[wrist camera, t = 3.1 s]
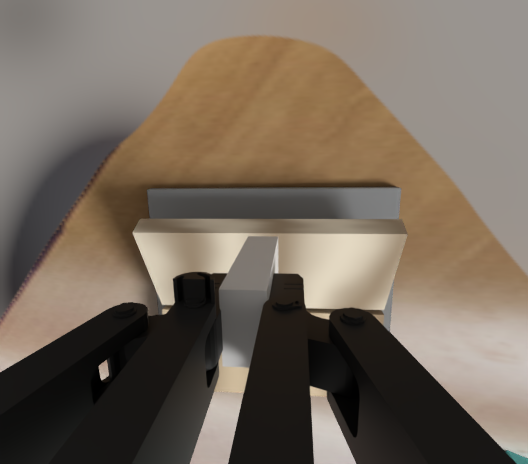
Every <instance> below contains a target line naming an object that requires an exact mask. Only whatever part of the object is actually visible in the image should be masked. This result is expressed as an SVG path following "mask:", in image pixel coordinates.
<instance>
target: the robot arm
mask: <svg viewBox="0 0 528 464" xmlns="http://www.w3.org/2000/svg"><path fill="white" fill-rule="evenodd" d="M173 288H174V300H175V303H174V304H173V306H172V307H171V308H170V309H169V311H168V312H167V313H166V314H162V315H154V316H148V308H147V307H146V306H145V305H143V304H140V303H133V302H128V303H122V304H120V305H117V306H114V307H112V308H110V309H107V310H106V311H104V312H102V313H101V314H99V315H97V316H96V317H94V318H92V319H90V320H89V321H87V322H85V323H84V324H82V325H80V326H78V327H77V328H75V329H73V330H72V331H70V332H68V333H67V334H65V335H63V336H61V337H60V338H58V339H56V340H55V341H53V342H51V343H50V344H48V345H46V346H44V347H43V348H41V349H39V350H38V351H36V352H34V353H33V354H31V355H29V356H27V357H26V358H24V359H22V360H21V361H19V362H17V363H15V364H14V365H12V366H10V367H9V368H7V369H5V370H4V371H2V372H0V464H190V461H191V458H192V455H193V452H194V449H195V446H196V443H197V440H198V437H199V434H200V431H201V428H202V425H203V422H204V419H205V416H206V413H207V410H208V407H209V404H210V401H211V398H212V395H213V393H214V390H215V387H216V384H217V381H218V378H219V359H220V356H221V353H222V365H223V366H224V367H245V368H249V372H248V377H247V381H246V386H245V390H244V395H243V399H242V404H241V408H240V413H239V417H238V422H237V426H236V431H235V435H234V440H233V444H232V449H231V454H230V458H229V463H228V464H314V457H313V437H312V418H311V398H310V386H312V387H315V388H318V389H322V390H325V391H327V399H328V402H329V404H330V406H331V409H332V411H333V413H334V415H335V417H336V420H337V422H338V424H339V426H340V428H341V431H342V433H343V435H344V437H345V439H346V442H347V444H348V446H349V448H350V450H351V453H352V455H353V457H354V459H355V462H356V464H517V463H516V462H515V461H514V460H513V459H512V458H511V457H510V456H509V455H508V454H507V453H506V452H505V451H504V450H503V449H502V448H501V447H500V446H499V445H498V444H497V443H496V442H495V441H494V440H493V439H492V438H491V437H490V435H489V434H488V433H487V432H486V431H485V430H484V429H483V428H482V427H481V426H480V425H479V424H478V423H477V422H476V421H475V420H474V419H473V418H472V417H471V416H470V415H469V414H468V413H467V412H466V411H465V410H464V409H463V408H462V406H461V405H460V404H459V403H458V402H457V401H456V400H455V399H454V398H453V397H452V396H451V395H450V394H449V393H448V392H447V391H446V390H445V389H444V388H443V387H442V386H441V385H440V384H439V383H438V382H437V381H436V380H435V378H434V377H433V376H432V375H431V374H430V373H429V372H428V371H427V370H426V369H425V368H424V367H423V366H422V365H421V364H420V363H419V362H418V361H417V360H416V359H415V358H414V357H413V356H412V355H411V354H410V353H409V352H408V350H407V349H406V348H405V347H404V346H403V345H402V344H401V343H400V342H399V341H398V340H397V339H396V338H395V337H394V336H393V335H392V334H391V333H390V332H389V331H388V330H387V329H386V328H385V327H384V326H383V325H382V324H381V322H380V321H379V320H378V319H377V318H376V317H375V316H373V315H372V314H371V313H369V312H366V311H364V310H362V309H359V308H356V309H355V308H353V307H350V308H341V309H336V310H335V311H333V312H331V314H330V315H329V319H324V318H320V317H317V316H314V315H312V314H310V313H309V312H308V311H307V310H306V306H305V301H304V282H303V278H302V277H301V276H300V275H299V274H287V273H278V236H248V237H247V239H246V241H245V243H244V245H243V246H242V248H241V250H240V252H239V254H238V255H237V257H236V259H235V261H234V263H233V264H232V266H231V268H230V270H229V272H228V273H213V274H210V273H207V272H189V273H183V274H181V275H178V276H176V277H174V278H173ZM105 360H107V363H108V370H109V376H108V377H107V378H105V379H104V380H102V381H101V378H100V374H99V367H98V366H99V365H100V364H101V363H103V362H104V361H105Z"/></svg>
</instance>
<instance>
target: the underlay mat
mask: <svg viewBox="0 0 528 464" xmlns="http://www.w3.org/2000/svg"><path fill="white" fill-rule="evenodd" d="M147 195H148V206H149V216H150V219H399V209H400V196H401V188H399V187H286V188H151V189H147ZM393 284H394V280H393V283H392V286H391V290H390V293H389V296H388V299H387V303H386V306H385V309H384V310H382V312H383V314H384V323H383V326H384V327H385V328H386V329H387V330H388V331H389V332H390V322H391V309H392V297H393ZM157 301H158V312H159V315H162V314H163V313H162V309H163V308H164V307H165V305H162V303H161V301H160V298H159V296H158V294H157Z"/></svg>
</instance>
